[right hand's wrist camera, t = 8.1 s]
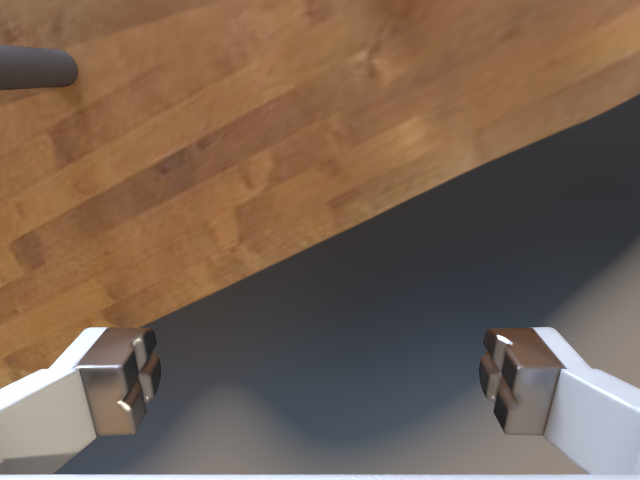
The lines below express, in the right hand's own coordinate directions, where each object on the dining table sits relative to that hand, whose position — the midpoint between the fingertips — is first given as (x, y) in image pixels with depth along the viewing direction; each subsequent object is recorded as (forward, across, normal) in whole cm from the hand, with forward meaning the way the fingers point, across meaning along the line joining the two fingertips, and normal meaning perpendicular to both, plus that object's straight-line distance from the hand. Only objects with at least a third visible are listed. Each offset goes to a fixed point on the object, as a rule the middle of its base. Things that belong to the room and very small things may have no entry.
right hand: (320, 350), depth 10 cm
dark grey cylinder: (+48, +32, -7) cm, 58 cm away
